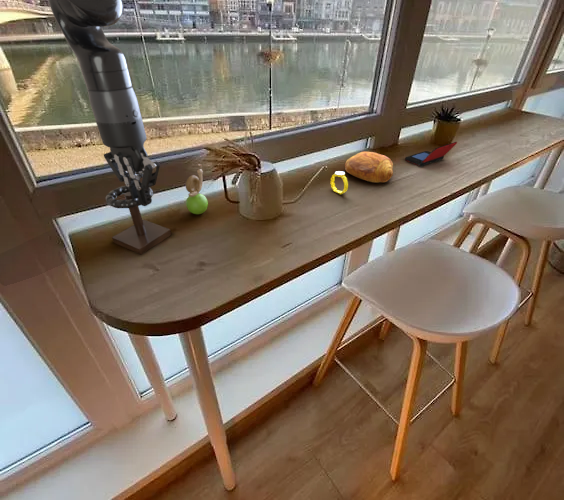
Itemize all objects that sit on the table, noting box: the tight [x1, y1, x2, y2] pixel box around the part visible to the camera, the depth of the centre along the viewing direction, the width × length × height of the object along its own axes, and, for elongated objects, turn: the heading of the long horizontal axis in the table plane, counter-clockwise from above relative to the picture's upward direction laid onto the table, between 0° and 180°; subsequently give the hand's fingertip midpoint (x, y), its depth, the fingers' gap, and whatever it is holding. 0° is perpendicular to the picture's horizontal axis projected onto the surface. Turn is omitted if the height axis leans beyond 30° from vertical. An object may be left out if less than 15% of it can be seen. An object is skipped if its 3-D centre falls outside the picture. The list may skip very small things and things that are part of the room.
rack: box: [111, 192, 172, 255], centre depth 72 cm, size 9×9×12 cm
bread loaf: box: [344, 150, 394, 183], centre depth 102 cm, size 14×16×8 cm
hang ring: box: [105, 185, 154, 209], centre depth 68 cm, size 9×9×2 cm
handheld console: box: [404, 141, 458, 167], centre depth 111 cm, size 12×11×7 cm
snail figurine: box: [185, 163, 209, 215], centre depth 81 cm, size 5×6×12 cm
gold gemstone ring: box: [329, 170, 349, 195], centre depth 92 cm, size 6×3×6 cm, turn 35°
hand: (142, 202), depth 67 cm, fingers closed on hang ring, 1 cm apart
